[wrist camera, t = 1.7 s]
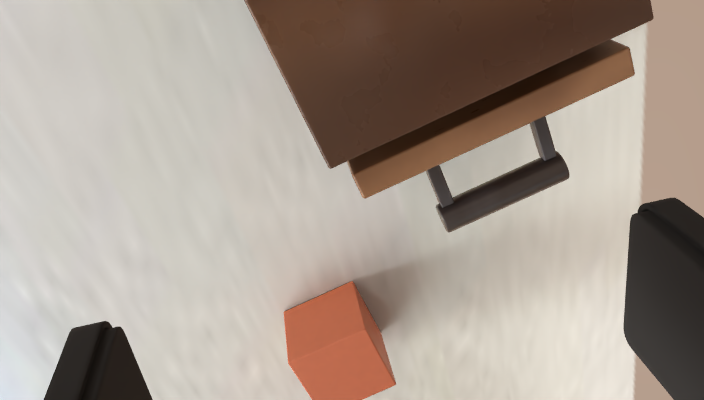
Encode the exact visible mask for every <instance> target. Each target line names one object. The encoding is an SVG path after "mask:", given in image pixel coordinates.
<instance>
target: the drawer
mask: <svg viewBox="0 0 704 400" xmlns="http://www.w3.org/2000/svg"><path fill="white" fill-rule="evenodd" d="M634 74H635V72H634V67H633V62H632V58H631V53H630V49H629V47H627V46H625V45H622V44H620V43H618V42H615V41H613V40H611V39H610V40H607V41H605V42H603V43H601V44H599V45H597V46H595V47H592V48H590V49H588V50H586V51H584V52H582V53H579V54H577V55H575V56H573V57H571V58H569V59H566V60H564V61H562V62H560V63H558V64H556V65H554V66H551V67H549V68H547V69H545V70H543V71H541V72H538V73H536V74H534V75H532V76H530V77H528V78H525V79H523V80H521V81H519V82H517V83H515V84H513V85H510V86H508V87H506V88H504V89H502V90H500V91H497V92H495V93H493V94H491V95H489V96H487V97H484V98H482V99H480V100H478V101H476V102H474V103H471V104H469V105H467V106H465V107H463V108H461V109H459V110H456V111H454V112H452V113H450V114H448V115H446V116H443V117H441V118H439V119H437V120H435V121H433V122H430V123H428V124H426V125H424V126H422V127H420V128H418V129H415V130H413V131H411V132H409V133H407V134H405V135H402V136H400V137H398V138H396V139H394V140H392V141H389V142H387V143H385V144H383V145H381V146H379V147H377V148H374V149H372V150H370V151H368V152H366V153H364V154H361V155H359V156H357V157H355V158H353V159H351V160H348V161H347V163H348V165H349V168H350V171H351V174H352V176H353V178H354V180H355V183H356V185H357V187H358V189H359V191H360V193H361V195H362V197H363V198H367V197H370V196H372V195H374V194H376V193H378V192H381V191H383V190H385V189H387V188H389V187H391V186H394V185H396V184H398V183H400V182H402V181H405V180H407V179H409V178H411V177H413V176H415V175H418V174H420V173H422V172H424V171H426V173H427V175H428V177H429V180H430V182H431V185H432V187H433V189H434V192H435V194H436V197H437V199H438V201H439V204H437V205H436V209H437V212H438V214H439V216H440V219H441V221H442V223H443V225H444V227H445V229H446V230H447V232H452V231H454V230H456V229H458V228H460V227H463V226H465V225H467V224H469V223H472V222H474V221H476V220H478V219H480V218H483V217H485V216H487V215H489V214H491V213H494V212H496V211H498V210H500V209H503V208H505V207H507V206H509V205H511V204H514V203H516V202H518V201H520V200H522V199H525V198H527V197H529V196H531V195H534V194H536V193H538V192H540V191H542V190H545V189H547V188H549V187H551V186H553V185H556V184H558V183H560V182H562V181H565V180H567V179H568V178H569V171H568V167H567V165H566V163H565V161H564V159H563V158H562V156H561V155H560V154H559V153H558V152H556V151H555V148H554V145H553V141H552V138H551V135H550V131H549V128H548V124H547V121H546V117H545V116H546V115H548V114H551V113H553V112H555V111H557V110H559V109H562V108H564V107H566V106H568V105H570V104H572V103H575V102H577V101H579V100H581V99H583V98H585V97H588V96H590V95H592V94H594V93H596V92H599V91H601V90H603V89H605V88H607V87H609V86H612V85H614V84H616V83H618V82H620V81H623V80H625V79H627V78H629V77H631V76H633V75H634ZM529 123H530V126H531V129H532V133H533V136H534V139H535V142H536V146H537V149H538V152H539V155H540V157H541V158H538V159H536V160H534V161H532V162H530V163H527V164H525V165H523V166H521V167H519V168H516V169H514V170H512V171H510V172H508V173H505V174H503V175H501V176H499V177H497V178H494V179H492V180H490V181H488V182H486V183H483V184H481V185H479V186H477V187H475V188H472V189H470V190H468V191H466V192H464V193H461V194H459V195H457V196H455V197H453V198H452V196H451V193H450V191H449V188H448V186H447V183H446V181H445V178H444V176H443V173H442V171H441V168H440V166H439V164H442V163H444V162H446V161H448V160H450V159H452V158H455V157H457V156H459V155H461V154H463V153H466V152H468V151H470V150H472V149H474V148H476V147H479V146H481V145H483V144H485V143H487V142H490V141H492V140H494V139H496V138H498V137H500V136H503V135H505V134H507V133H509V132H511V131H514V130H516V129H518V128H520V127H522V126H524V125H527V124H529Z"/></svg>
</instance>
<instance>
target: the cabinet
mask: <svg viewBox="0 0 704 400" xmlns="http://www.w3.org/2000/svg"><path fill="white" fill-rule="evenodd" d="M244 1H245V3H246V5H247V7H248V9H249V11H250V13H251V15H252V17H253V19H254V21H255V22H256V24H257V26H258V28H259V30H260V32H261V34H262V36H263V38H264V40H265V42H266V44H267V46H268V48H269V50H270V52H271V54H272V56H273V58H274V60H275V62H276V64H277V66H278V68H279V70H280V72H281V74H282V76H283V78H284V80H285V82H286V84H287V86H288V88H289V90H290V92H291V94H292V96H293V98H294V100H295V102H296V104H297V106H298V108H299V110H300V112H301V114H302V116H303V118H304V120H305V122H306V124H307V126H308V128H309V130H310V132H311V134H312V136H313V138H314V140H315V142H316V144H317V146H318V148H319V150H320V152H321V154H322V156H323V157H324V159H325V161H326V163H327V165H328V167H329V168H333V167H336V166H338V165H340V164H342V163H344V162H346V161H348V160H351V159H353V158H355V157H357V156H359V155H361V154H364V153H366V152H368V151H370V150H372V149H374V148H377V147H379V146H381V145H383V144H385V143H387V142H389V141H392V140H394V139H396V138H398V137H400V136H402V135H405V134H407V133H409V132H411V131H413V130H415V129H418V128H420V127H422V126H424V125H426V124H428V123H430V122H433V121H435V120H437V119H439V118H441V117H443V116H446V115H448V114H450V113H452V112H454V111H456V110H459V109H461V108H463V107H465V106H467V105H469V104H471V103H474V102H476V101H478V100H480V99H482V98H484V97H487V96H489V95H491V94H493V93H495V92H497V91H500V90H502V89H504V88H506V87H508V86H510V85H513V84H515V83H517V82H519V81H521V80H523V79H525V78H528V77H530V76H532V75H534V74H536V73H538V72H541V71H543V70H545V69H547V68H549V67H551V66H554V65H556V64H558V63H560V62H562V61H564V60H566V59H569V58H571V57H573V56H575V55H577V54H579V53H582V52H584V51H586V50H588V49H590V48H592V47H595V46H597V45H599V44H601V43H603V42H605V41H607V40H610V39H612V38H614V37H616V36H618V35H620V34H623V33H625V32H627V31H629V30H631V29H633V28H636V27H638V26H640V25H642V24H644V23H646V22H648V21H651V20H652V19H653V12H652V7H651V1H650V0H244Z"/></svg>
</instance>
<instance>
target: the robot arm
mask: <svg viewBox="0 0 704 400" xmlns="http://www.w3.org/2000/svg"><path fill="white" fill-rule="evenodd" d="M624 334H625V337H626V340H627V342H628V344H629V346H630V347H631V348H632V350H633V351H634V352H635V353H636V354H637V356H638V357H639V358H640V359H641V360H642V362H643V363H644V364H645V365H646V366H647V368H648V369H649V370H650V371H651V372H652V374H653V375H654V376H655V377H656V379H657V380H658V381H659V382H660V383H661V384H662V386H663V387H664V388H665V389H666V391H667V392H668V393H669V394H670V395H671V397H672V398H673V399H674V400H704V218H703V217H702V216H701V215H699V214H698V213H696V212H695V211H694V210H692V209H691V208H690V207H688V206H686V205H685V204H684V203H683V202H681V201H680V200H678V199H676V198H668V199H664V200H659V201H655V202H650V203H645V204H642V205H641V206H640V207H639V209H638V213H636V214H634V215H632V217H631V221H630V233H629V249H628V265H627V281H626V297H625V313H624ZM44 400H152V397H151V395H150V393H149V390H148V388H147V385H146V383H145V381H144V378H143V376H142V373H141V371H140V369H139V366H138V364H137V361H136V359H135V357H134V354H133V352H132V349H131V347H130V345H129V342H128V340H127V337H126V335H125V333H124V331H123V329H122V328H121V327H115V328H112V326H111V325H110V323H109V322H107V321H103V322H99V323H94V324H90V325H85V326H80V327H76V328H73V329H72V330H71V331H70V333H69V335H68V338H67V341H66V343H65V346H64V348H63V351H62V354H61V356H60V359H59V361H58V364H57V367H56V369H55V372H54V374H53V377H52V380H51V382H50V385H49V387H48V390H47V393H46V395H45V398H44Z"/></svg>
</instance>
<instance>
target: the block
mask: <svg viewBox="0 0 704 400" xmlns="http://www.w3.org/2000/svg"><path fill="white" fill-rule="evenodd" d="M284 320H285V331H286V343H287V354H288V364H289V365H290V367H291V368H292V370H293V371H294V373H295V374H296V376H297V377H298V379H299V380H300V382H301V383H302V385H303V386H304V388H305V389H306V391H307V392H308V394H309V395H310V397H311V399H312V400H362V399H364V398H367V397H369V396H371V395H374V394H376V393H378V392H380V391H383V390H385V389H387V388H390V387H392V386H394V385H396V382H395V379H394V375H393V372H392V369H391V365H390V362H389V359H388V355H387V352H386V349H385V345H384V342H383V339H382V335H381V333H380V331H379V329H378V327H377V325H376V323H375V321H374V320H373V318H372V316H371V314H370V312H369V310H368V308H367V307H366V305H365V303H364V301H363V299H362V297H361V295H360V294H359V292H358V290H357V288H356V286H355V284H354V282H353V281H351V282H349V283H347V284H345V285H342V286H340V287H338V288H336V289H334V290H331V291H329V292H327V293H325V294H322V295H320V296H318V297H316V298H314V299H311V300H309V301H307V302H305V303H302V304H300V305H298V306H296V307H294V308H291V309H289V310H287V311H285V312H284Z"/></svg>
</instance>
